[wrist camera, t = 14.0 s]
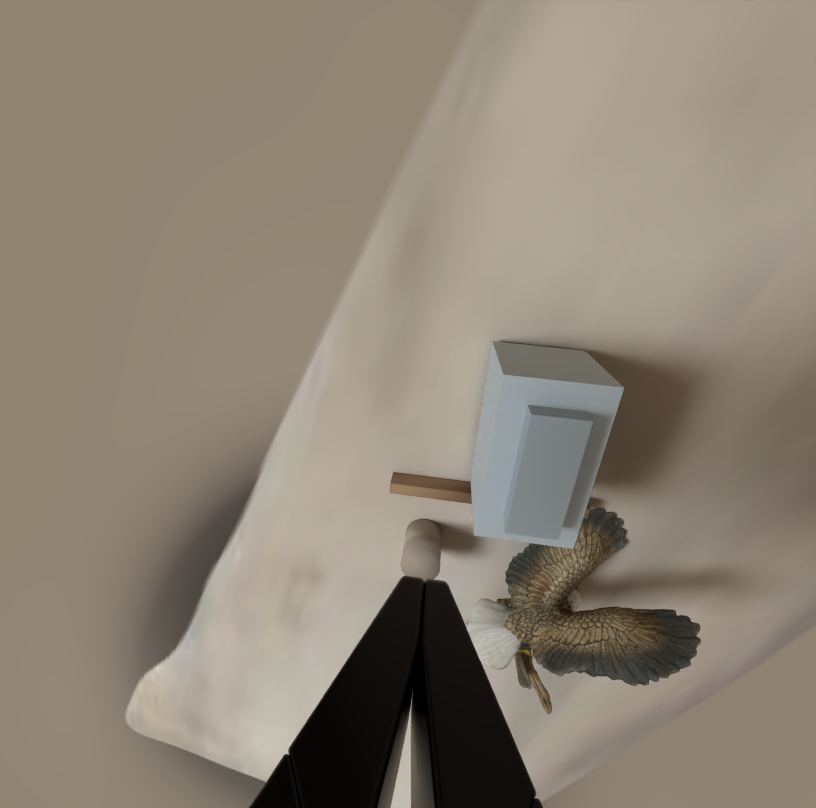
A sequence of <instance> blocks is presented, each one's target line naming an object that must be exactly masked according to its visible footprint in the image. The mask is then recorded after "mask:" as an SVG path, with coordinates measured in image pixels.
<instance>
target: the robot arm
mask: <svg viewBox="0 0 816 808" xmlns="http://www.w3.org/2000/svg"><path fill="white" fill-rule="evenodd" d="M412 692H413V693H412ZM411 699H412V706H411ZM410 707H411V808H543V807H542V804H541V802H540V800H539V799H537V798H535V796H536V791H535V788H534V786H533V784H532V781H531V779H530V777H529V774H528V772H527V770H526V767H525V765H524V762H523V760H522V758H521V755H520V753H519V751H518V748H517V746H516V744H515V741H514V739H513V737H512V734H511V732H510V729H509V727H508V725H507V722H506V720H505V718H504V715H503V713H502V711H501V708H500V706H499V704H498V701H497V699H496V696H495V694H494V692H493V689H492V687H491V685H490V682H489V680H488V678H487V675H486V673H485V671H484V668H483V666H482V664H481V661H480V659H479V656H478V654H477V652H476V649H475V647H474V645H473V642H472V640H471V638H470V635H469V633H468V631H467V628H466V626H465V623H464V621H463V619H462V616H461V614H460V612H459V609H458V607H457V605H456V602H455V600H454V598H453V595H452V593H451V590H450V588H449V586H448V584H447V583H446V582H445V581H440V580H433V579H427V580H426V581H425V583H424V580H423V579H422V578H419V577H412V576H403V577H402V578H401V579H400V581H399V582H398V584H397V585H396V587H395V588H394V590H393V591H392V593H391V594H390V596H389V597H388V599H387V600H386V602H385V603H384V605H383V606H382V608H381V609H380V611H379V613H378V614H377V616H376V617H375V619H374V620H373V622H372V623H371V625H370V626H369V628H368V629H367V631H366V632H365V634H364V635H363V637H362V638H361V640H360V641H359V643H358V644H357V646H356V647H355V649H354V650H353V652H352V653H351V655H350V656H349V658H348V660H347V661H346V663H345V664H344V666H343V667H342V669H341V670H340V672H339V673H338V675H337V676H336V678H335V679H334V681H333V682H332V684H331V685H330V687H329V688H328V690H327V691H326V693H325V694H324V696H323V697H322V699H321V700H320V702H319V703H318V705H317V707H316V708H315V710H314V711H313V713H312V714H311V716H310V717H309V719H308V720H307V722H306V723H305V725H304V726H303V728H302V729H301V731H300V732H299V734H298V735H297V737H296V738H295V740H294V741H293V743H292V744H291V746H290V747H289V750H288V752H289V755H288V754H285V755H284V756H283V758H282V759H281V761H280V762H279V764H278V765H277V767H276V768H275V770H274V771H273V773H272V774H271V776H270V777H269V779H268V780H267V782H266V783H265V785H264V786H263V788H262V789H261V791H260V792H259V793H258V795H257V796H256V798H255V799H254V801H253V802H252V803H251V805H250V807H249V808H390V807H391V802H392V797H393V792H394V788H395V783H396V778H397V773H398V768H399V763H400V759H401V754H402V749H403V744H404V739H405V734H406V730H407V725H408V719H409V713H410ZM534 798H535V799H534Z"/></svg>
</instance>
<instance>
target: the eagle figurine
mask: <svg viewBox="0 0 816 808" xmlns="http://www.w3.org/2000/svg"><path fill="white" fill-rule="evenodd" d="M622 525H623V521H622V519H620V518H617V514H616V513H614V512H608V513H605V512H604V510H603V509H595V510H592V511H591V512H589V515H588V519H585V518H583V520H582V523H581V526H580V530H579V533H578V536H577V539H576V542H575V545H574V548H573V549H570V548H563V547H556V546H548V545H541V544H533V543H530V544H529V546H528V547H526V548H525V549H524V552H523V553H518V554H517V556H514V557H513V558H512V561H511V562H510V564H509V569H508V570H507V571H506V573H505V574H506V580H505V581H506V583H507V584H508V586H509V587H508V592H509V594H510V595H511V598H510V600H509V601H510V603H511V604H512V605H511V606H510V607H509V605H508V604H507V602H506V601H505V600H499V599H497V602H495V601H492V600H489V599H480V600H479V601H478V602H477V603H476V604H475V606H474V608H473V611H472V613H471V616H470V618H469V619H468V621H467V631H468V633H469V635H470V638H471V640H472V642H473V645H474V647H475V649H476V652H477V654H478V656H479V659H480V661H482V662H483V663H485V664H486V665H488V666H489V667H492V668H496V669H498V670H501V669H504V668H505V667H507V665H508V664H509V663H510V661H511V660H512V658H513V657H514V656H515V661H516V667H517V673H518V680H519V683H520V685H521V686H522V687H523V688H525V687H526V688H528V689H531V683H532V685H533V687H534V688H535V690H536V691H537V693H538V696H539V698H540V701H541V703H542V705H543V707H544V709H545V710H546V712H547V713H548V714H550V713H551V712H552V706H551V702H550V697H549V693H548V692H547V690H546V689H545V687H544V686H543V684H542V682H541V680H540V678H539V676H538V674H537V672H536V670H535V669H534V667H533V664H532V655H531V649H532V652H533V657H534V658H535V659H536V661H537V663H538V664H539V665H540V664H542V667H543V668H546V669H547V670H549V671H550V672H551V673H555V674H556V675H557V676H563V675H564V674H565V673H571V672H573V671H576V672H578V673H582V672H585V673H587V674H589V675H590V676H592V677H596V676H607V677H609V678H610V679H612V680H618V679H620V680H623V681H624V682H625V683H627V684H630V685H632V686H636V685H638V684H642V685H648V684H649V680H652V681H655V682H657V681H659V678H660V677H661V678H668V677H669V675H670V674H673V673H676V672H679V671H680V669H682V668H685V667H688V666H690V665H691V662H690V660H691V658H693V657H695V656H696V654H697V651H696V647H697V646H698V645H699V644H700V642H701V640H700V638H698V637H697V636H696V635H697V634H698V632H699V631H700V625H699V624H698V623H693V622H691V620H690V618H689V617H688V616H683V615H680V616H677V615H676V611H675V610H666V609H654V610H649V609H631V608H621V607H607V608H599V609H595V610H585V611H578V612H574V611H575V610H576V608H577V607H578V605H579V604H580V603H581V596H580V594H579V591H578V590H575V588H576V587H577V586H578V585H579V583H580V582H582V581H583V580H584V579H585V578H586V577H587V576H589V575H590V574H591V573H592V572H593V571H594V570H595V569H596V568H597V567H598V566H599V565H600V564H601V563H602V562H603V561H605V560H606V559H608V558H609V557H610V556H612V555H614V554H615V553H617V552H618V551H619V550H621V549H622V548H623V547H624V546H625V542H624V541H623V540H622V539H623V537H624V535H625V531H624V530H623V529H621V526H622Z"/></svg>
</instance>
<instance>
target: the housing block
mask: <svg viewBox="0 0 816 808" xmlns="http://www.w3.org/2000/svg"><path fill="white" fill-rule="evenodd" d="M623 390H624V387H623V386H622V385H621V384H620V383H619V382H618V381H617V380H616V379H614V378H613V377H612V376H611V375H610V374H609V373H608V372H607V371H606V370H605V369H604V368H603V367H602V366H601V365H599V364H598V363H597V362H596V361H595V360H594V359H593V358H592V357H591V356H590V355H589V354H588V353H587V352H586V351H582V350H572V349H563V348H553V347H543V346H533V345H524V344H514V343H504V342H495V341H492V346H491V352H490V358H489V364H488V370H487V376H486V382H485V388H484V395H483V401H482V407H481V413H480V419H479V425H478V431H477V437H476V443H475V449H474V455H473V461H472V467H471V473H470V479H471V496H472V512H473V529H474V536H482V537H489V538H497V539H504V540H511V541H519V542H526V543H533V544H541V545H548V546H556V547H563V548H570V549H573V548H574V545H575V542H576V539H577V536H578V533H579V530H580V526H581V523H582V520H583V517H584V514H585V511H586V507H587V504H588V501H589V498H590V495H591V492H592V488H593V485H594V482H595V479H596V476H597V473H598V469H599V466H600V463H601V460H602V457H603V454H604V451H605V447H606V444H607V441H608V438H609V435H610V432H611V428H612V425H613V422H614V419H615V416H616V413H617V409H618V406H619V403H620V400H621V397H622V394H623Z"/></svg>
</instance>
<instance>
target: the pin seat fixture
mask: <svg viewBox="0 0 816 808" xmlns="http://www.w3.org/2000/svg"><path fill="white" fill-rule="evenodd" d="M390 493H393V494H401V495H409V496H416V497H424V498H432V499H439V500H447V501H455V502H462V503H470V504H472V496H471V482H463V481H455V480H448V479H440V478H432V477H424V476H416V475H408V474H400V473H393V475H392V479H391V483H390ZM589 512H590V507H589V505H588V504H587V507H586V511H585V514H584V517H583V518H585V519H588V515H589ZM440 556H441V530H440V528H439V526H438V525H437V524H436V523H434V522H432V521H430V520H426V519H419V520H415V521H413V522H412V523H410V524H409V526H408V527H407V531H406V537H405V543H404V549H403V555H402V561H401V569H402V571H403V573H404V574H405V575H406V576H412V577H419V578H422V579H423V580H424V582H425V581H426V580H427V579H434V578H435V577H436V576H437V575H438V574H439V571H440Z"/></svg>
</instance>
